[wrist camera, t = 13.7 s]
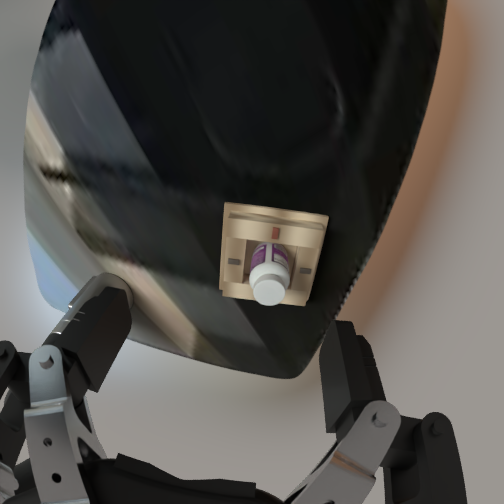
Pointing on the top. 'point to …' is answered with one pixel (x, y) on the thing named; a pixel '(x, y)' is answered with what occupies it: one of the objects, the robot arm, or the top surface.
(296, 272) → the holder
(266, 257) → the pill bottle
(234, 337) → the top surface
